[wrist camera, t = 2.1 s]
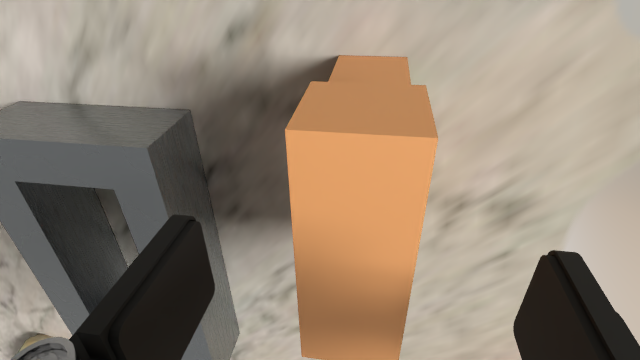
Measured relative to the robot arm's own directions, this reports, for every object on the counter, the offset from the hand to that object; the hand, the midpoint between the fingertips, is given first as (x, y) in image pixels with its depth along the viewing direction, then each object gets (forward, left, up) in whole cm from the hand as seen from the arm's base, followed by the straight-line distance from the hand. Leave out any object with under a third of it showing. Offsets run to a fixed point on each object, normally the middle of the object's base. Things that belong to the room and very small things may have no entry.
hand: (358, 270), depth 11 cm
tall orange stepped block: (-1, 0, -7) cm, 7 cm away
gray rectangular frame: (+6, -12, -7) cm, 15 cm away
